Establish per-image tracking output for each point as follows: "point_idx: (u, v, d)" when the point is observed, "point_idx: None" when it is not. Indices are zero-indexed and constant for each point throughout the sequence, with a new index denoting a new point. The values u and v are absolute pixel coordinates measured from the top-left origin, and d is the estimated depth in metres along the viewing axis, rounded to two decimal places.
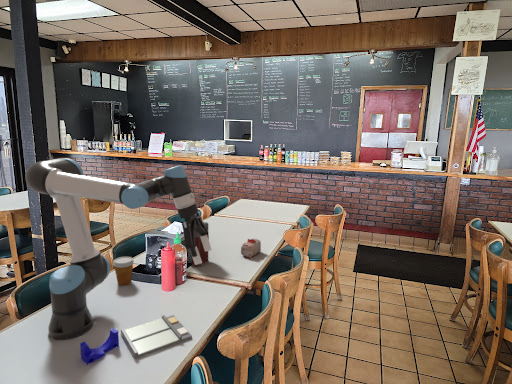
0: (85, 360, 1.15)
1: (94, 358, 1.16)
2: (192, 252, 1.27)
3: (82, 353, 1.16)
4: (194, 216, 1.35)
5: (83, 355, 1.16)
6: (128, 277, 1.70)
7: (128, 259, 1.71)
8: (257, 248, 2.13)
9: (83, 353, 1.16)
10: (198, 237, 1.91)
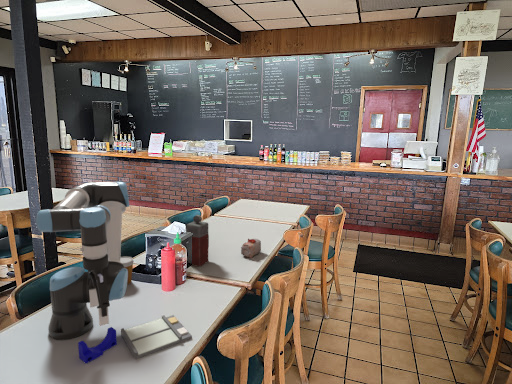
0: (83, 359, 1.16)
1: (92, 357, 1.17)
2: None
3: (80, 352, 1.17)
4: (93, 272, 1.13)
5: (81, 354, 1.16)
6: (128, 277, 1.70)
7: (128, 259, 1.71)
8: (258, 248, 2.13)
9: (81, 352, 1.16)
10: (198, 237, 1.91)
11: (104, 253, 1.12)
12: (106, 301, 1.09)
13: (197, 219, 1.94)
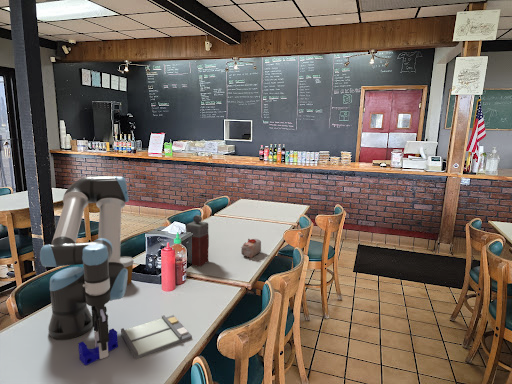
0: (83, 360, 1.15)
1: (92, 358, 1.16)
2: None
3: (80, 353, 1.16)
4: (96, 307, 1.15)
5: (81, 355, 1.16)
6: (128, 277, 1.70)
7: (128, 259, 1.71)
8: (258, 248, 2.13)
9: (81, 353, 1.15)
10: (198, 237, 1.91)
11: (106, 289, 1.15)
12: (106, 338, 1.14)
13: (197, 219, 1.94)
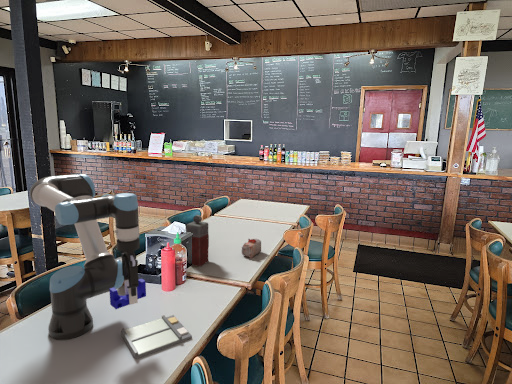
0: (114, 304, 1.20)
1: (122, 303, 1.21)
2: None
3: (111, 298, 1.21)
4: (126, 254, 1.20)
5: (112, 300, 1.21)
6: None
7: None
8: (258, 248, 2.13)
9: (112, 297, 1.20)
10: (198, 237, 1.91)
11: (136, 236, 1.19)
12: (136, 283, 1.19)
13: (197, 219, 1.94)
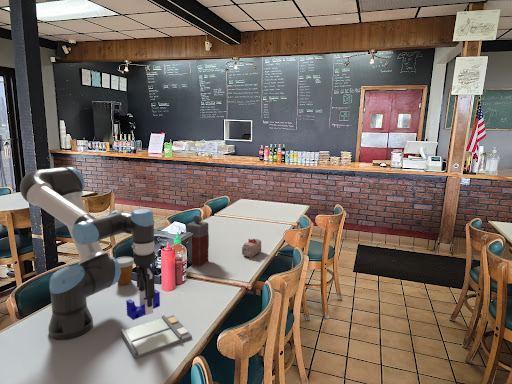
0: (131, 315, 1.26)
1: (139, 314, 1.27)
2: None
3: (128, 309, 1.27)
4: (143, 267, 1.26)
5: (129, 311, 1.26)
6: (128, 277, 1.70)
7: (128, 259, 1.71)
8: (258, 248, 2.13)
9: (129, 308, 1.26)
10: (198, 237, 1.91)
11: (152, 250, 1.25)
12: (152, 294, 1.25)
13: (197, 219, 1.94)
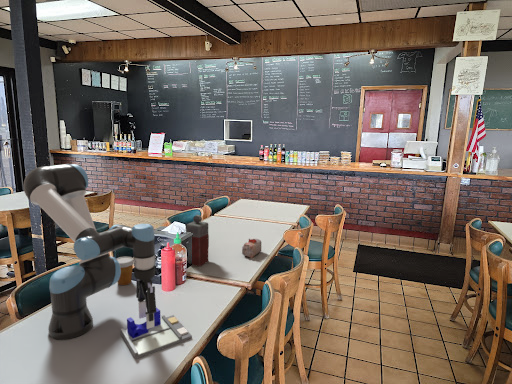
0: (131, 334, 1.28)
1: (139, 333, 1.28)
2: None
3: (128, 327, 1.29)
4: (143, 281, 1.27)
5: (129, 330, 1.28)
6: (128, 277, 1.70)
7: (128, 259, 1.71)
8: (258, 248, 2.14)
9: (129, 327, 1.28)
10: (198, 237, 1.91)
11: (153, 264, 1.27)
12: (154, 308, 1.25)
13: (197, 219, 1.94)
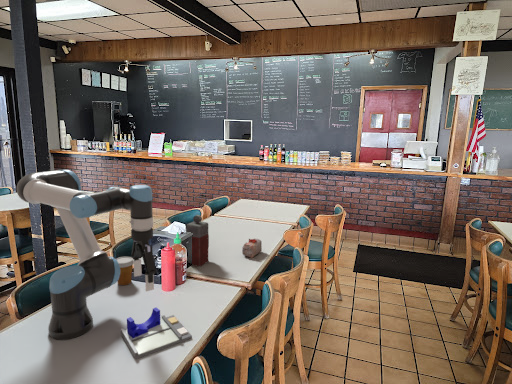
0: (131, 333, 1.28)
1: (138, 332, 1.29)
2: None
3: (128, 327, 1.29)
4: (140, 243, 1.25)
5: (129, 329, 1.28)
6: (128, 277, 1.70)
7: (128, 259, 1.71)
8: (259, 248, 2.14)
9: (129, 327, 1.28)
10: (198, 237, 1.91)
11: (150, 226, 1.24)
12: (153, 268, 1.21)
13: (197, 219, 1.94)
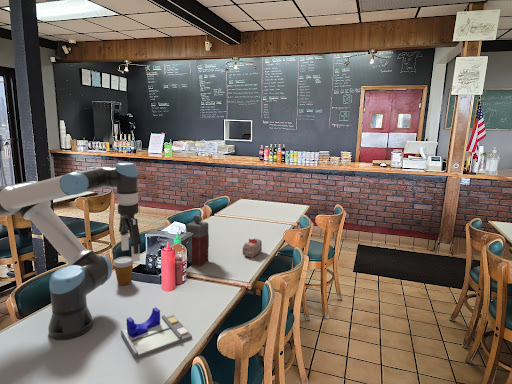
0: (130, 333, 1.28)
1: (138, 332, 1.29)
2: None
3: (128, 327, 1.29)
4: (127, 217, 1.33)
5: (129, 329, 1.28)
6: (128, 277, 1.70)
7: (128, 259, 1.71)
8: (259, 248, 2.14)
9: (129, 327, 1.28)
10: (198, 237, 1.91)
11: (136, 201, 1.33)
12: (138, 240, 1.29)
13: (197, 219, 1.94)
